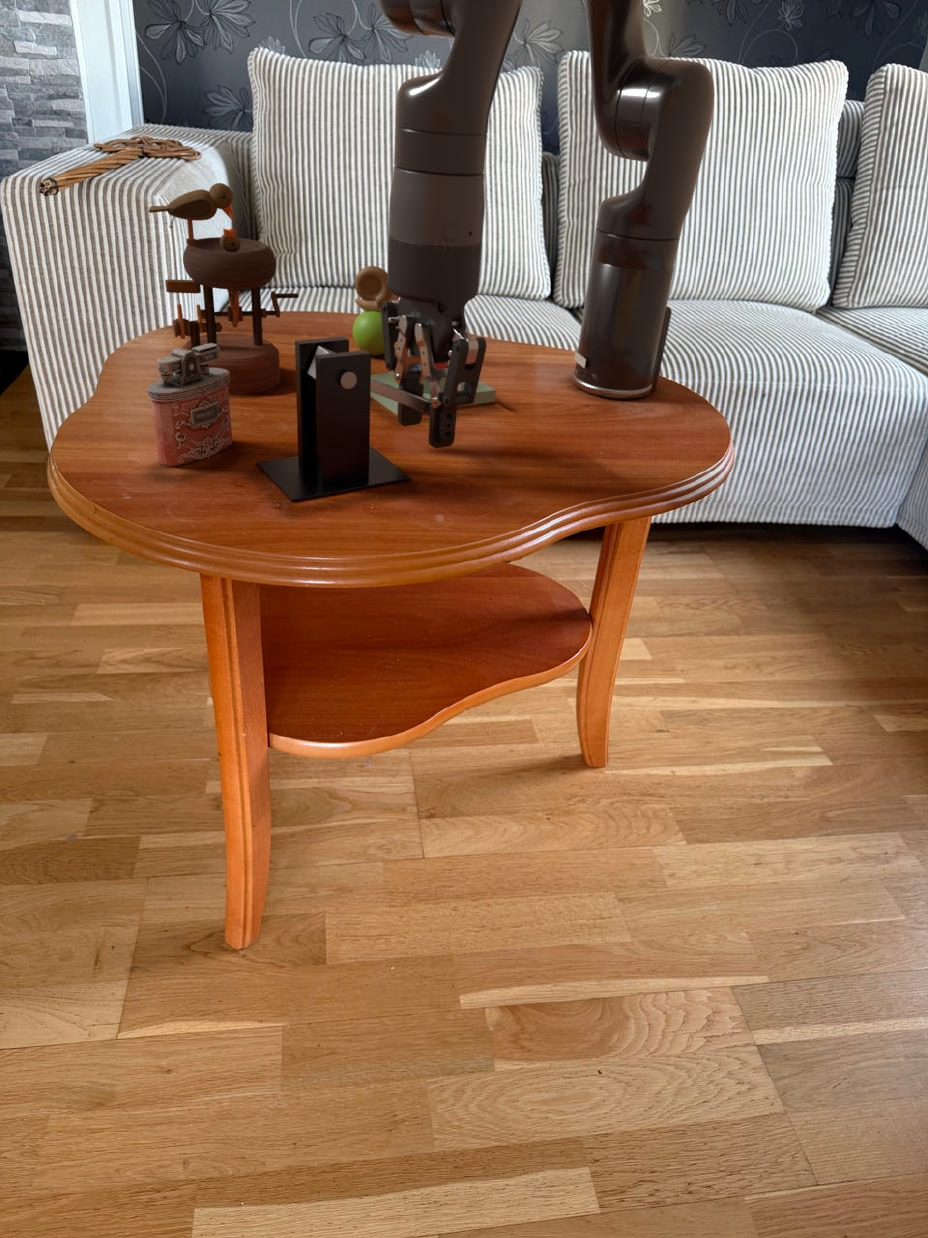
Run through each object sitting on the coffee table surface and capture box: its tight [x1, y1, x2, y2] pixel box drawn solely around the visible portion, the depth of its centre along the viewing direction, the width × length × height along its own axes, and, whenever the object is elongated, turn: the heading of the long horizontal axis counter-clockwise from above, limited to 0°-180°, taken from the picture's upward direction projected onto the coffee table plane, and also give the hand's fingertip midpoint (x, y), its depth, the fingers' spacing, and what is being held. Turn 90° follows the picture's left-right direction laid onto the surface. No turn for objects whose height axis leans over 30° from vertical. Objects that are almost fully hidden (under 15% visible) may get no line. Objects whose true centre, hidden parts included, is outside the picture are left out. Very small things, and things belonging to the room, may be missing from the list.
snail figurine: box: [352, 265, 400, 357], centre depth 105 cm, size 5×6×12 cm
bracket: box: [255, 336, 412, 504], centre depth 73 cm, size 11×8×12 cm
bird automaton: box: [148, 182, 300, 395], centre depth 92 cm, size 15×11×20 cm
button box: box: [370, 361, 497, 416], centre depth 94 cm, size 12×9×4 cm
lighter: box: [146, 343, 234, 469], centre depth 75 cm, size 8×3×10 cm, turn 148°
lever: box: [308, 346, 432, 418], centre depth 74 cm, size 12×5×2 cm, turn 122°
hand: (424, 433), depth 79 cm, fingers closed on lever, 5 cm apart
